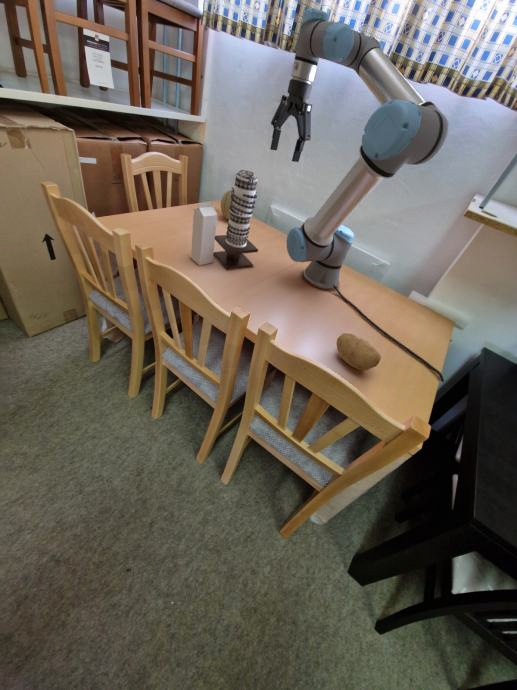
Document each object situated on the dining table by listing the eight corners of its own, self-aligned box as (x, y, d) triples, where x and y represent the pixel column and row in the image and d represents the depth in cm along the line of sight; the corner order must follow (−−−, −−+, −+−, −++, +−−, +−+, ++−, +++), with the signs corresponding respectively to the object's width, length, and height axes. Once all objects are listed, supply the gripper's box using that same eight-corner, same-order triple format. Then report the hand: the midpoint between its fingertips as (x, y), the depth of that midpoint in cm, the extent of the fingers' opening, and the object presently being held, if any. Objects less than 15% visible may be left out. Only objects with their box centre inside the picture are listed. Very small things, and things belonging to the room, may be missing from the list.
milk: (212, 262, 116) (219, 205, 102) (199, 265, 113) (204, 207, 98) (203, 255, 119) (208, 198, 104) (190, 258, 115) (194, 199, 101)
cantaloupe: (242, 229, 146) (248, 197, 136) (214, 220, 146) (218, 188, 136) (250, 219, 157) (256, 190, 147) (224, 211, 157) (228, 181, 147)
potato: (341, 342, 97) (351, 323, 92) (377, 369, 91) (390, 351, 86) (324, 353, 91) (334, 334, 86) (361, 383, 85) (374, 364, 80)
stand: (254, 267, 121) (258, 249, 115) (226, 270, 114) (229, 251, 109) (239, 251, 128) (242, 234, 122) (212, 254, 121) (214, 235, 116)
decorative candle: (250, 241, 119) (263, 173, 102) (243, 250, 112) (257, 179, 95) (228, 234, 119) (239, 166, 102) (221, 243, 112) (230, 171, 96)
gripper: (270, 71, 100) (257, 144, 114) (318, 85, 87) (297, 166, 101) (287, 76, 104) (272, 146, 118) (335, 90, 91) (312, 167, 105)
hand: (283, 155), depth 110 cm, fingers open, 13 cm apart
